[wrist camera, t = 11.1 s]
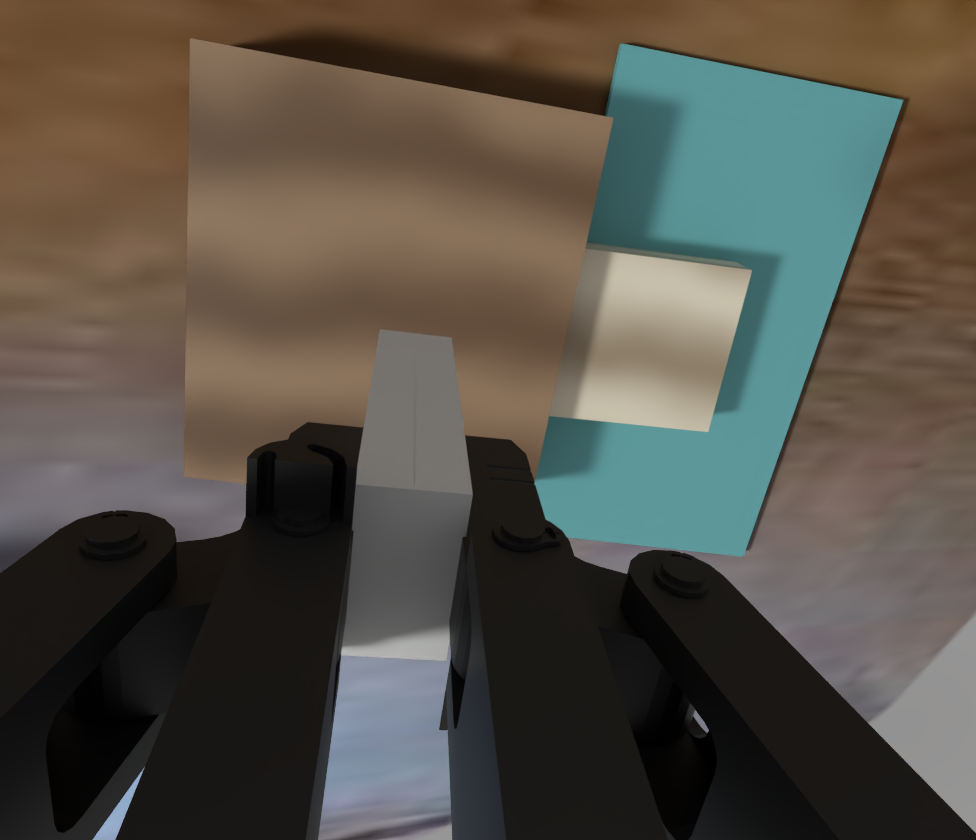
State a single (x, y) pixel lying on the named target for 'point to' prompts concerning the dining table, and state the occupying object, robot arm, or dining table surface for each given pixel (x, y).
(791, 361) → the teal mat
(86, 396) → the dining table surface
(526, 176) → the walnut board
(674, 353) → the birch tile
